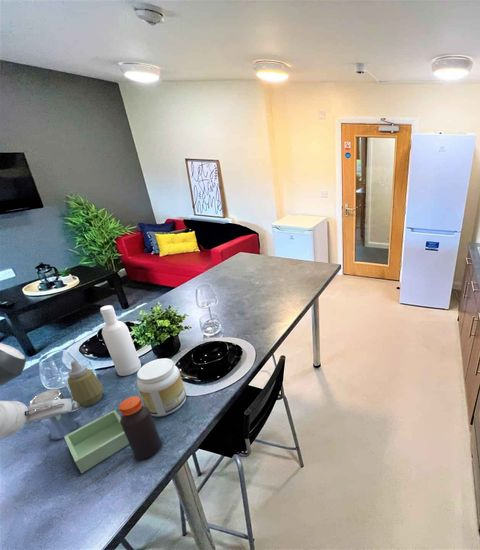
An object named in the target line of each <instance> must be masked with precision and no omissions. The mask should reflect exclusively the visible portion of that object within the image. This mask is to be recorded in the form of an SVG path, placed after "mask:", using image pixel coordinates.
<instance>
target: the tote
mask: <svg viewBox="0 0 480 550" xmlns="http://www.w3.org/2000/svg"><path fill="white" fill-rule="evenodd" d="M121 417H122V416H121V415H120V414H119V413H118V411H117V410H116V409H113V410H112V411H109V412H108V413H105V414H103V415H101V416H100V417H98V418H96V419H94V420H93V421H91V422H88V423H87V424H84V425H83V426H81V427H79V428H76V429H75V431H74V432H72V433H70V434H68V435H66V436H64V438H63V439H64V441H65V443H66V445H67V447H68V449H69V452H70V454H71V457H72V459H73V461H74V463H75V465H76V467H77V468H78V470H79V472H80V474H83V473H85V472H86V471H88V470H89V469H91V468H93V467H95V466H96V465H97V464H99V463H101V462H103V461H105V460H106V459H107V458H109V457H111V456H112V455H114V454H115V453H117V452H119V451H120V450H122V449H123V448H125V447H127V446H128V445H130V444H129V441H128V439H127V437H126V435H125V432H124V430H123V428H122V426H121V423H120V420H121Z"/></svg>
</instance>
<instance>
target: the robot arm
mask: <svg viewBox="0 0 480 550" xmlns="http://www.w3.org/2000/svg"><path fill="white" fill-rule="evenodd" d="M26 364H27V357H26V355H24V354H23V353H22V351H20V350H19V349H17V348H15V347H13V346H11V345H8V344H5V343H2V342H0V387H1V386H4V385H6V384H7V383H9V382H10V381H12V380H14V379H16V378H18V377H20V376H21V375H22V373H23V372H24V369H25V367H26ZM72 401H73V400H72V398H65V399H58V400H52V401H47V402H44V403H40V404H36V405H32V406H30V405H29V406H27V405H26V404H25V403H23V402H22V401H18V400H0V441H2V440H5V439H7V438H10V437H12V436H13V435H15V434H17V433H18V432H19V431H20V430H22V429H23V427H24V426H27V425H30V424H34V423H38V422H40V421H41V420H44V419H48V418H51V417H55V416H58V415H61V414H65V413H68V412H71V411H72V410H73V402H72Z"/></svg>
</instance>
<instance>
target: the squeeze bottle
mask: <svg viewBox="0 0 480 550" xmlns="http://www.w3.org/2000/svg"><path fill="white" fill-rule="evenodd" d="M70 367H71V369H70V370H69V371H68V373H67V375H68V378H67V379H66V380H67V384H68V386H69V391H70V394H71V397H72V398H71V399H72V401H74V402H76V403H77V404H78V405H80V406H82V407H90V406H92V405H95V404H96V403H98V402H99V401H100V400H101V399H102V398H103V392H104V385H102V383H101V382H100V380H99V379H98V377H97V375H96V373H94V371H93V370H92V369H90V368H89V369H88V367H87V366H86V365H81V364H79V362H78V361H77V360H72V361H71V362H70Z"/></svg>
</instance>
